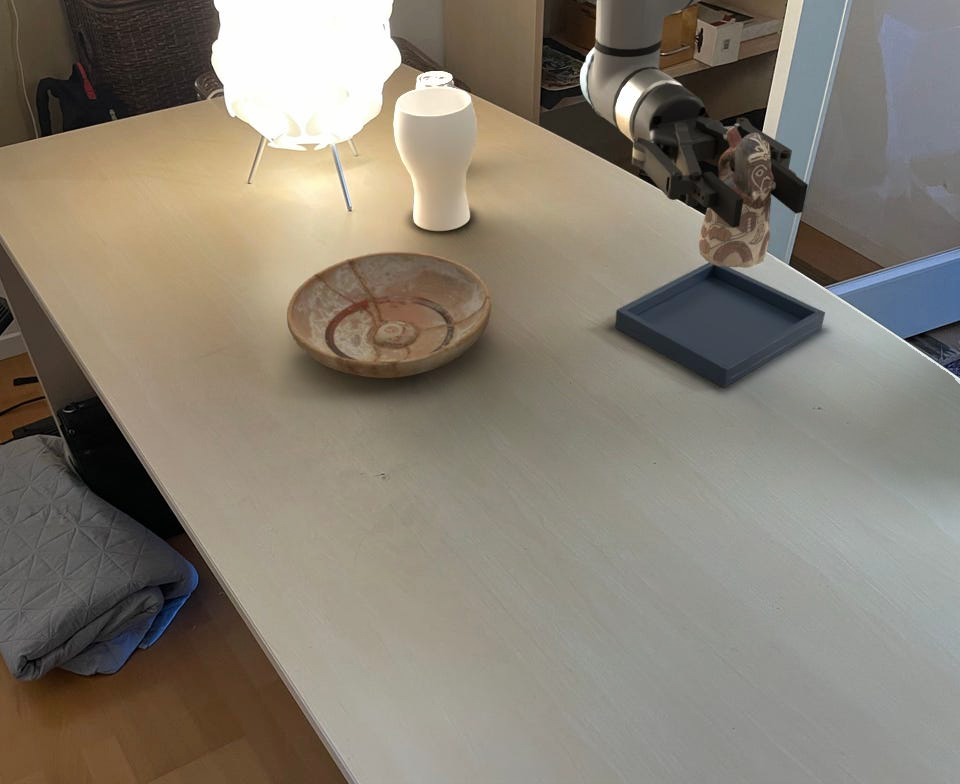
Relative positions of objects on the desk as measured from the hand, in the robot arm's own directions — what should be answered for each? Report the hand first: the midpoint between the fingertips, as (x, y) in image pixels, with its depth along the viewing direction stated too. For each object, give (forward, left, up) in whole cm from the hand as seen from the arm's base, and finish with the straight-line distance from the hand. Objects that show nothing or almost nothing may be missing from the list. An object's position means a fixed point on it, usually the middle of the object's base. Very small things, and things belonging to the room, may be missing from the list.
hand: (770, 206), depth 96 cm
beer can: (+64, -8, -18) cm, 67 cm away
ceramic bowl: (+31, +25, -18) cm, 44 cm away
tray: (+7, -4, -18) cm, 19 cm away
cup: (+51, +2, -18) cm, 54 cm away
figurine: (+5, -2, -7) cm, 9 cm away
